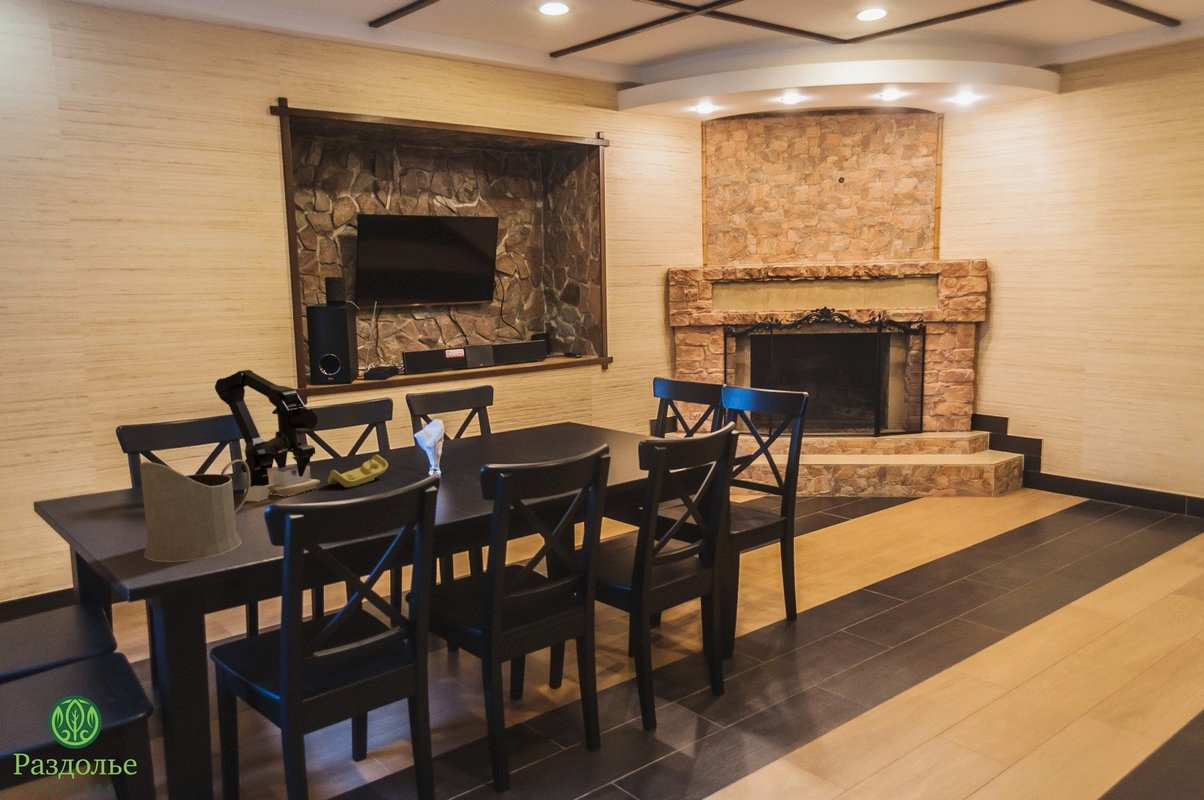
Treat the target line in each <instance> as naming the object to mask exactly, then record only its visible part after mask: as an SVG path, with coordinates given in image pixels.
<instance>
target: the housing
mask: <svg viewBox="0 0 1204 800" xmlns="http://www.w3.org/2000/svg"><path fill="white" fill-rule="evenodd" d="M310 467H311V466H310V465H307V466H306V469H305V471H304V474H303V476H301V477H299V474H298V468H297V464H293V465H288V466H286V467H284V468H276V469H272V470H271V473H272V474H271V475H272V484H273V485H274V486H280V487H288V486H292V485H296V484H300V483H304V482H308V481H311V479H312V478H311V468H310Z"/></svg>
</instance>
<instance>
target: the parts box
mask: <svg viewBox="0 0 1204 800" xmlns="http://www.w3.org/2000/svg"><path fill="white" fill-rule="evenodd" d="M243 492H244V494H245V493H246V489H245V488H244V491H243ZM268 496H269V497H270V494H269V489H268V486H252V487H250V490H249V493H248V496H247V498H246V500H261V499H264V498H266V497H268Z"/></svg>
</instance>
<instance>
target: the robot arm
mask: <svg viewBox="0 0 1204 800" xmlns="http://www.w3.org/2000/svg"><path fill="white" fill-rule="evenodd" d="M246 387H248V388H250V389H252V390H254V391H256V392H258V393H260V394H261V395H263V396H265V397H266V398H267V399H268V401H269V403H271V404H272V405H273V406H274V407H275V408H274V410H272V412H271V413H272V414H273V415H277V425H278V431H275V433H274V435H275V436H274V438H271V439H269V440H264V439H262V437H261V435H260V434H259V433H260V432H259V430H258V428H257V427H256V424H255V422H254V419H253V417H252V416H251V413H250V411H249V408H248V406H247V403H246V401H245V394H246V393H245V392H246V390H245V388H246ZM214 390H215V393H216V394H217V395H218V397H219V398H220V400H221V401H223V402H224V403H226V405H228V408H229V409H230V411H231V414H232V416H233V418H234V419H235V420H234V421H235V423H236V425H237V427H238V429H239V432H240V433H241V436H242V437H243V441H244V442H245V450H244V455H245V457H246V459H244V461H245V462H246V463H247V465H248V467H249V471H250V487H252V486H266V485H270V482H269V481H270V480H269V474H268V473H269V472H268V469H272V468H273V466H274V461H275V463H276V465H277V469H279V468H284V467H287V466H286V465H287V459H288V453H292V455H293V457H292V459H293V460H294V461H295V462H296V465H297V468H298V474H299V477H301V476H303V474H304V471H305V469H306V466H308V465H309V462H310V460H311V459H312V457H313V456H314V455H316V448H315V446H313V445H311V444H304V445H302V442H300V441H299V434H301V430H302V429H303V430H314V429H315V428H316V426H317V424H318V417H317V414H316V413H315V412H314V411H313V408H312V407H306V405H305V403H304V402H303V400H302V399H301V397H300V396H299V394H298V392H297V390H296V389H295V388H292V387H289V386H284V385H278V384H276V383H274V382H271V381H270V380H268V379H267V378H264V377H262V376H260V375H259V374H256V373H255V372H254V371H253V370H252V369H251V370H250V369H244V370H239V371H237V372H235V373H234V374H231V375H228V376H226V377H223V378H218V379H217V380H216V382H215V386H214ZM240 468H241V471H242V473H246V474H247V472H246V468H245V465H244V464H243V463H242V464H241V466H240ZM245 488H247V486H246V487H244V489H245Z"/></svg>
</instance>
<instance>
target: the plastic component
mask: <svg viewBox="0 0 1204 800" xmlns="http://www.w3.org/2000/svg"><path fill="white" fill-rule="evenodd" d="M388 467H389V463H388V462H387V460H386V459H385V458H383V457H382V456H380V455H379V454H375V455H373V456H372V457H371V458H370V459H368V460H367V461H365V462H363V463H362V465H361V466H360V467H356V468H355V469H352V470H349V471H346V472H344V473H339V471H337V470H335V469H332V470H331V471H330V473H329V475H328V479H327V481H326V482H327V484H328V485H330V484H333V483H336V482H339V483H338V484H340V485H341V486H343V487H344V488H346V487H350V486H356V485H359V484H362V483H364V484H367V483H369V481H370V482H372V481H375V477H376V478H377V477H378V476H380V475H382V474H383V473H384V472H386V470H387V469H388ZM366 482H367V483H366ZM333 485H334V484H333ZM362 485H363V484H362ZM359 486H360V485H359ZM356 487H357V486H356Z"/></svg>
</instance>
